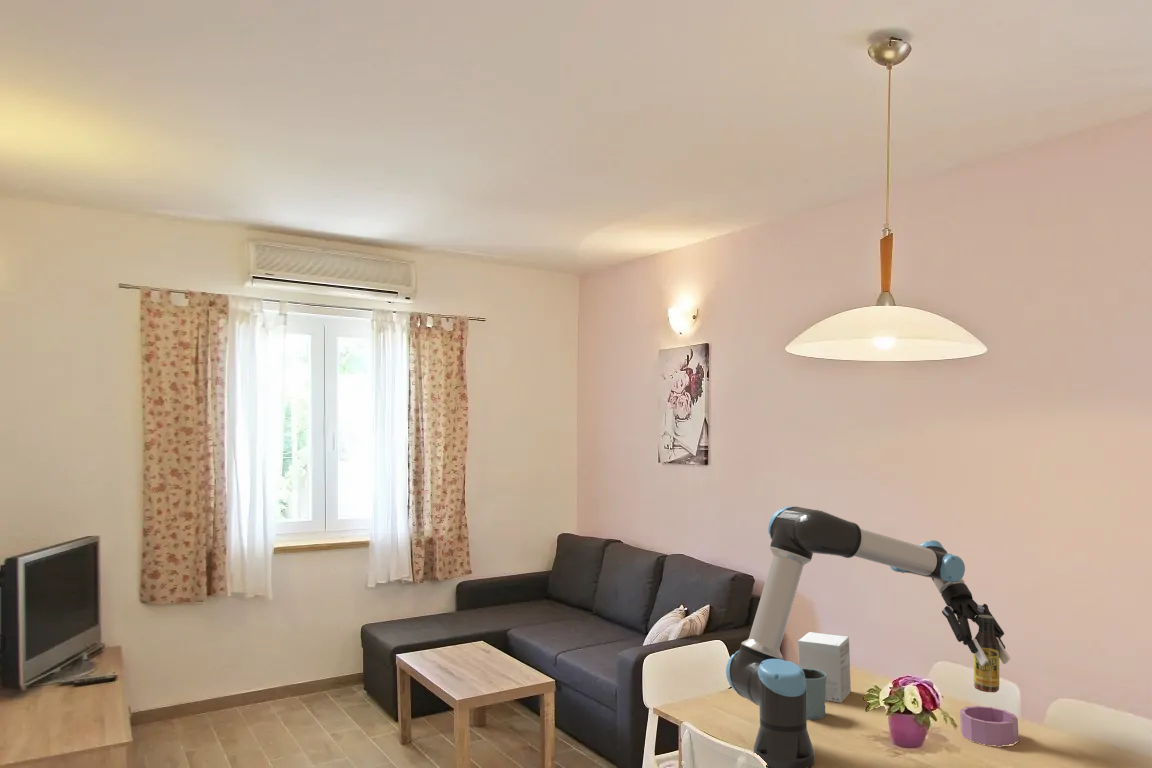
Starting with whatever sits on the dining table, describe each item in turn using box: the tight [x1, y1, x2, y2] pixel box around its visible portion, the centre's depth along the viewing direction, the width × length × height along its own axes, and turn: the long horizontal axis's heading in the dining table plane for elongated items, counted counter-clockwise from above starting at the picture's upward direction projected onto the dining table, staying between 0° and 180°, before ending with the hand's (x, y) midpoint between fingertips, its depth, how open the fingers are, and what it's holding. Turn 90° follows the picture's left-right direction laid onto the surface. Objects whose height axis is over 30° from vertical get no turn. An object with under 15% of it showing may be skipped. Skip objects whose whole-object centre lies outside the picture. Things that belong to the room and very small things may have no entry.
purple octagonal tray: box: [959, 705, 1020, 746], centre depth 216 cm, size 14×14×6 cm
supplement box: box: [797, 631, 852, 704], centre depth 254 cm, size 13×13×18 cm
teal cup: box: [802, 668, 826, 721], centre depth 235 cm, size 10×10×12 cm
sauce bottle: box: [973, 615, 1000, 693], centre depth 218 cm, size 7×6×20 cm
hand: (995, 662), depth 214 cm, fingers closed on sauce bottle, 6 cm apart
